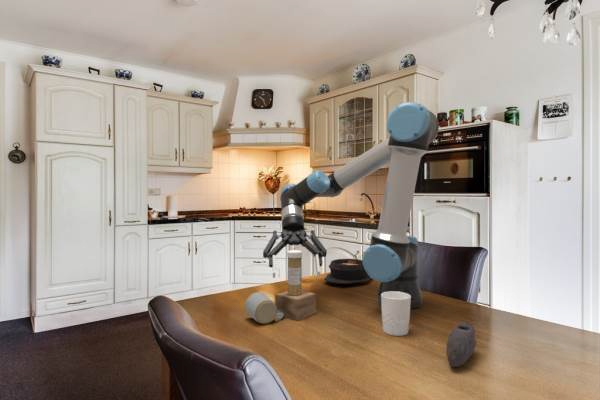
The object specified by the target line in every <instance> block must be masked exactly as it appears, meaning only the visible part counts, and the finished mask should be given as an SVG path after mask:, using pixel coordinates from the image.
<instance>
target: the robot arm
mask: <svg viewBox="0 0 600 400" xmlns="http://www.w3.org/2000/svg"><path fill="white" fill-rule="evenodd" d="M439 124H440V123H439V120H438V118H437V116H436V115H435V114H434V113H433V112H432V111H431V110H429V109H428V108H427V107H426V106H424V105H423V104H421V103H417V102H413V101H406V102H402V103H400V104H398V105H396V106H395V107H394V108H393V109H392V110H391V112H390V113H389V114H388V117H387V121H386V128H387V132H388V134H389V137H387V138H386V139H384V140H381V142H379V143H378V144H376V145H374V146H373V147H371V148H370V149H368V150H367V151H365V152H363V153H362V154H360V155H358V156H356V157H355V158H354V159H352V160H351V161H349V162H347V163H346V164H344V165H343V166H341V167H339V168H338V169H336V170H335V171H334V172H333V171H332V173H330V174H326V173H325V172H324V171H322V170H321V169H320V170H319V169H318V170H317V169H316V170H315V171H313V172H312V173H310V174H308V175H307V176H306V177H305V178H303V179H302V180H301V181H299V182H297V184H296V183H289V184H285V185H284V186H283V187H281V190H280V198H279V199H280V206H281V207H280V208H281V209H280V211H281V232H277V230H273V232H272V236H271V238H270V239H269V241H268V243H267V244H266V246H265V247H264V249H263V251H262V257H263V259H268V267H269V268H272V278H273V279H275V278H276V275H277V274H276V256H277V255H278V254H279V253H280V252H281V251H282V250H283V249H284V248H286V246H287V245H289V246H294V245H295V246H299V245H301V247H303V248H305V249H306V250H307V251H308V252H309V253H311V254H312V255H313V256H314V262H315V271H316V277H317V278H320V275H321V267H322V266H323V258H326V257H327V254H328V253H327V252H328V251H327V249H326V247H325V245H323V243H322V242H321V241H320V240H319V238H318V237H317V236H316V233H315V230H312V229H311V230H310V231H309V232H306V230H305V221H304V218H305V217H304V213H303V212H304V211H303V209H304V208H303V206H304V205H306V204H308V203H309V202H311V201H313V200H314V199H315V198H334V197H338V196H340V195H341V194H342V192H343V191H344V190H345V189H347V188H349V187H351V186H352V185H354V184H355V183H357V182H359V181H361V180H363V179H364V178H366V177H367V176H370V175H371V174H372V173H375V172H377V171H378V170H379V169H381V168H383V167H385V166H387V165H388V164H389V167H388V170H387V171H388V173H387V177H386V178H387V179H386V181H385V188H384V193H383V194H384V195H383V200H382V205H381V211H380V216H379V221H378V227H377V229H376V230H375V231H374V232H372V233H371V239H370V242H369V247H368V248H366V249H365V251H364V253H363V257H362V260H363V266H364V269H365V271H366V272H367V274H368V275H369V276H370V277H371V279H373V280H374V281H376V282H379V283H380V285H379V288H378V290H377V295H376V302H377V303H378V304H379V305H381V294H382V293H383V292H389V291H396V292H403V293H407V294H409V295H410V296H411V303H410V309H417V308H419V307H422V306H423V303H424V301H423V299H424V298H423V295H422V292H421V287H420V284H419V282H418V266H419V265H418V264H419V263H418V256H419V254H418V253H419V251H418V250H419V243H418V239H417V237H415V236H411V235H410V236H408V235H407V231H408V227H409V226H408V225H409V221H410V216H411V210H412V205H413V199H414V194H415V189H416V184H417V180H418V174H419V168H420V163H421V159H422V157H423V156H424V155H425V154H427V153H428V149H429V144H431V143H432V142H433V141H434V140H435V139H436V137H437V136H438V133H439V130H440V129H439V128H440V127H439V126H440V125H439ZM279 238H281V240H280V241H279V242H278V243H277V244H276V242H277V240H279ZM307 238H308V239H309V240H310V241H311V242H310V241H309V240H308V239H307ZM275 244H276V245H275ZM274 245H275V246H274Z"/></svg>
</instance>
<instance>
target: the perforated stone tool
mask: <svg viewBox="0 0 600 400" xmlns="http://www.w3.org/2000/svg"><path fill="white" fill-rule="evenodd" d="M475 333H476V332H475V328H474V325H473V324H472V323H470V322H467V321H461V322H459V323H458V324H457V325H455V327H454V328H453V329H452V330H451V332H450V334H449V336H448V338H447V341H446V348H445V349H446V358H447V361H448V363H449V365H450V367H452V368H457V367H461V366H463V365H464V364H465V363H466V362H467V361H468V360H469V359H470V358H471V356H472V355H473V353H474V351H475V349H476V346H477V340H476V337H475Z"/></svg>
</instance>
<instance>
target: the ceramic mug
mask: <svg viewBox="0 0 600 400" xmlns="http://www.w3.org/2000/svg"><path fill="white" fill-rule="evenodd" d="M244 307H245V312H246V313H247V315H248V316H250V317H251V318H252V319H253V320H254V321H255V322H257V323H258V324H263V325H265V324H267V325H268V324H270V323H271V322H273V321H274V320H275V319H279V320H282V319H283V318H284V317H283V316H284V314H283V313H282V312H281V311H279V310H277V307H276V305H275V301H273V300H272V299H271V298H269V296H268V295H266V294H265V293H264V292H261V291H257V292H253V293H251V294H250V295H249V296H247V299H246V301H245V306H244Z"/></svg>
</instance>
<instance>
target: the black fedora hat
mask: <svg viewBox="0 0 600 400" xmlns="http://www.w3.org/2000/svg"><path fill="white" fill-rule="evenodd" d="M328 268H329V269H330V273H329V274H327V275H326V277H324V279H323V280H324V281H325V282H328V283H330V284H331V283H332V284H338V285H358V284H361V283H364V282H367V281H369V280H371V279H372V278H371V277H370V276H369V275H368V274H367V272H366V271H365V269H364V266H363V259H357V258H338V259H332V260H331V261H330V264H329V265H328Z"/></svg>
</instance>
